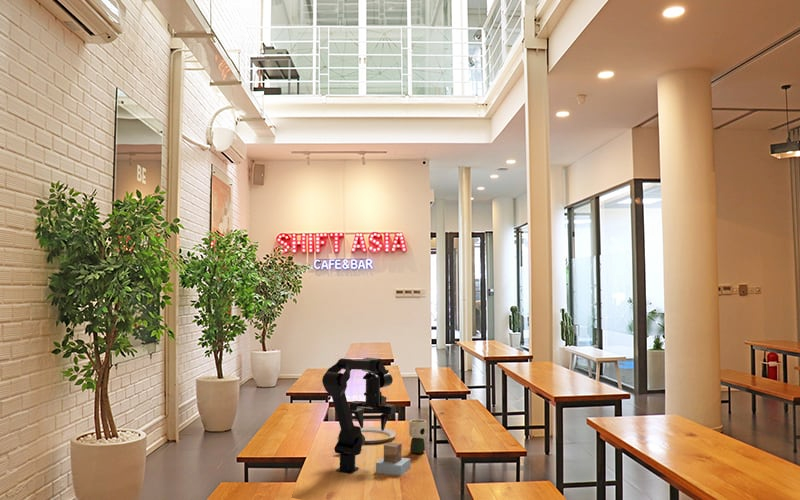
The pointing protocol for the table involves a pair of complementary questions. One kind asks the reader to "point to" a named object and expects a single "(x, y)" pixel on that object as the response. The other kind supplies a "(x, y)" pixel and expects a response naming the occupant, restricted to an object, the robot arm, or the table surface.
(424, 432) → the character mug
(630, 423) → the table surface
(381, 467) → the slate block
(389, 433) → the plate
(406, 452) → the table surface
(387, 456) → the walnut block
